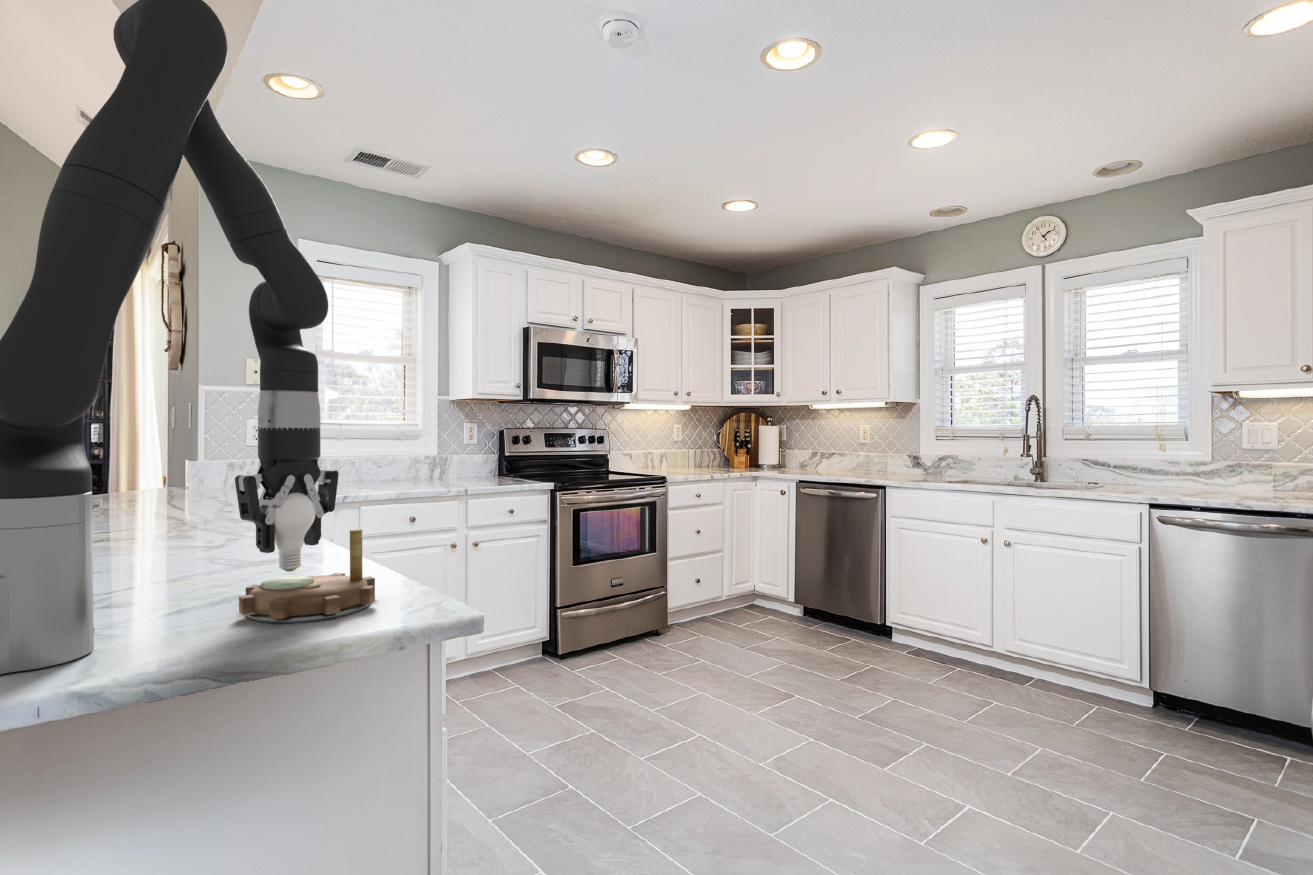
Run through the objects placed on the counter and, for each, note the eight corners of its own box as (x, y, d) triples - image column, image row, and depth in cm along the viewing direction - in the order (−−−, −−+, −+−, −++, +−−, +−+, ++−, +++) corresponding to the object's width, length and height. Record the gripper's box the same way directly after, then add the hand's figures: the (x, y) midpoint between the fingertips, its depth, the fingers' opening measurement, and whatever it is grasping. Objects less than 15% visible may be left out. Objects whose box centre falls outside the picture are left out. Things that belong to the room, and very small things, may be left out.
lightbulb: (276, 578, 89) (275, 494, 89) (254, 571, 93) (253, 491, 93) (324, 570, 94) (324, 490, 94) (302, 564, 98) (301, 487, 98)
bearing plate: (297, 629, 82) (297, 625, 82) (220, 613, 89) (220, 610, 89) (395, 601, 96) (395, 597, 96) (321, 589, 102) (321, 585, 102)
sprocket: (397, 602, 92) (397, 535, 92) (260, 627, 81) (259, 551, 81) (350, 581, 104) (350, 522, 104) (223, 600, 92) (223, 534, 92)
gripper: (256, 425, 85) (257, 560, 86) (353, 425, 98) (353, 542, 99) (219, 425, 89) (219, 554, 89) (317, 425, 102) (317, 538, 102)
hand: (290, 547), depth 94 cm, fingers closed on lightbulb, 6 cm apart
